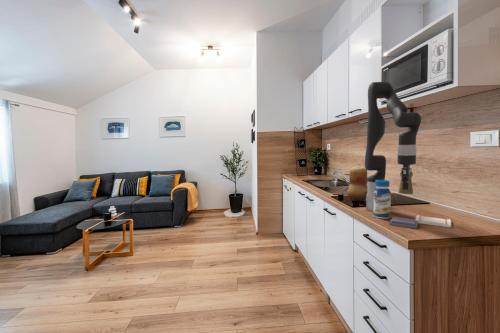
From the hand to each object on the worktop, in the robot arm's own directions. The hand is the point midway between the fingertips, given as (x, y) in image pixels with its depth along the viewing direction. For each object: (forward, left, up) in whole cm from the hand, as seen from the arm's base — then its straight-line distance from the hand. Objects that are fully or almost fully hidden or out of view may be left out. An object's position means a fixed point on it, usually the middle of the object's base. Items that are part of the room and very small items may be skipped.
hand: (405, 189), depth 117 cm
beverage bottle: (-11, +7, -17) cm, 22 cm away
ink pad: (-1, -1, -17) cm, 17 cm away
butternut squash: (-32, +41, -17) cm, 55 cm away
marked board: (+10, +11, -17) cm, 23 cm away
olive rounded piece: (0, 0, -2) cm, 2 cm away
